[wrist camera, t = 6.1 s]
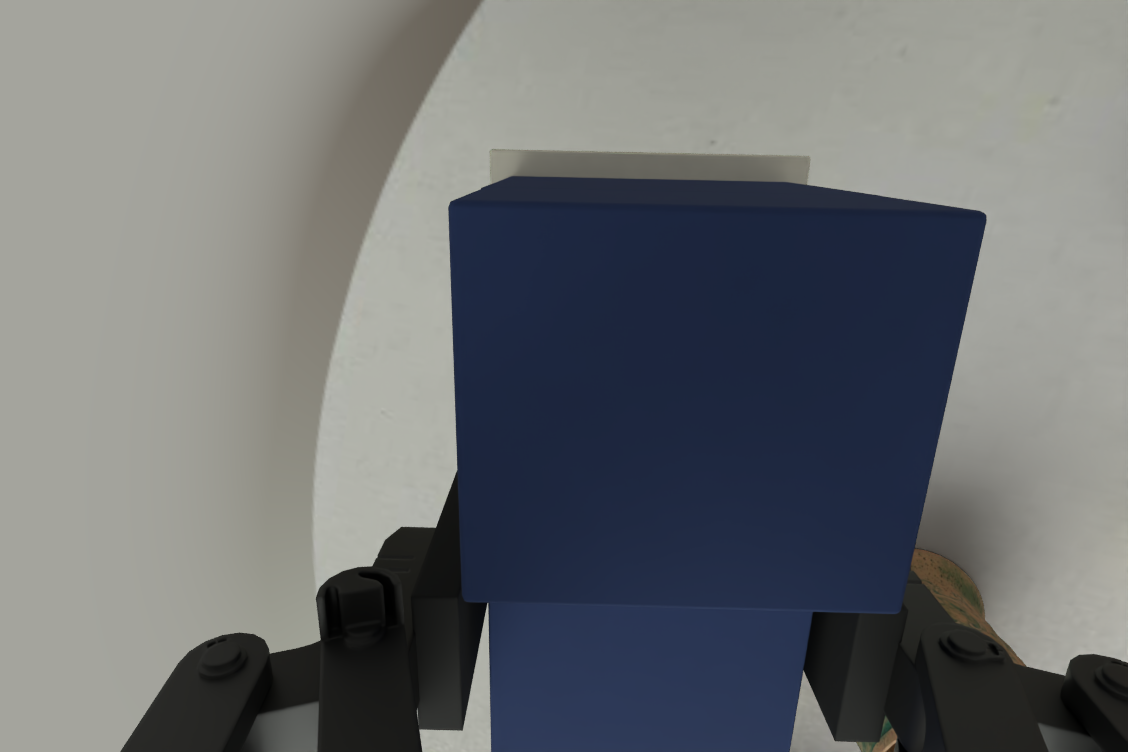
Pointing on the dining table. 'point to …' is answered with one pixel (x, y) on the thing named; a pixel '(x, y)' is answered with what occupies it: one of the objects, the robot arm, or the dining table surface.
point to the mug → (960, 605)
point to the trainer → (688, 432)
